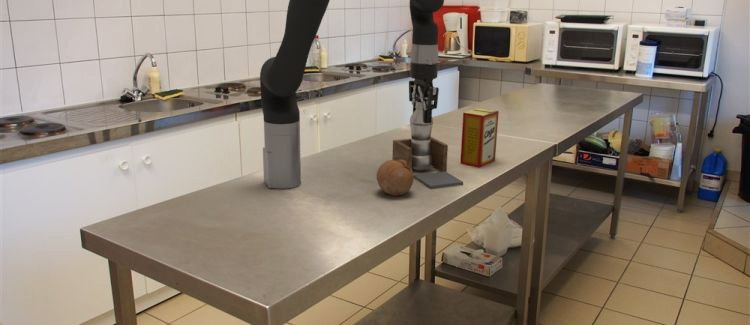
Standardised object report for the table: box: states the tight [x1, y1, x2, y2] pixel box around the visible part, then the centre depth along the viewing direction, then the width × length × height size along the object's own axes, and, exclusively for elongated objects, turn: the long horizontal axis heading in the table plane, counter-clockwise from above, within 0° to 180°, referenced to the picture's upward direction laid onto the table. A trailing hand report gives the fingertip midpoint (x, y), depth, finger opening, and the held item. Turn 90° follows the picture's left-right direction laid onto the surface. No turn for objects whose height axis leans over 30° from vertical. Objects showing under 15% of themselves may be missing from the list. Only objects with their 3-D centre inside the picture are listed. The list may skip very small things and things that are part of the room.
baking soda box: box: [459, 107, 500, 169], centre depth 185 cm, size 10×6×16 cm
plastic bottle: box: [409, 100, 434, 172], centre depth 176 cm, size 6×7×20 cm
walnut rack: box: [391, 136, 449, 172], centre depth 178 cm, size 12×10×8 cm
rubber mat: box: [413, 170, 464, 189], centre depth 169 cm, size 10×10×1 cm
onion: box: [376, 159, 415, 197], centre depth 158 cm, size 10×9×10 cm
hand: (421, 120), depth 174 cm, fingers closed on plastic bottle, 6 cm apart
